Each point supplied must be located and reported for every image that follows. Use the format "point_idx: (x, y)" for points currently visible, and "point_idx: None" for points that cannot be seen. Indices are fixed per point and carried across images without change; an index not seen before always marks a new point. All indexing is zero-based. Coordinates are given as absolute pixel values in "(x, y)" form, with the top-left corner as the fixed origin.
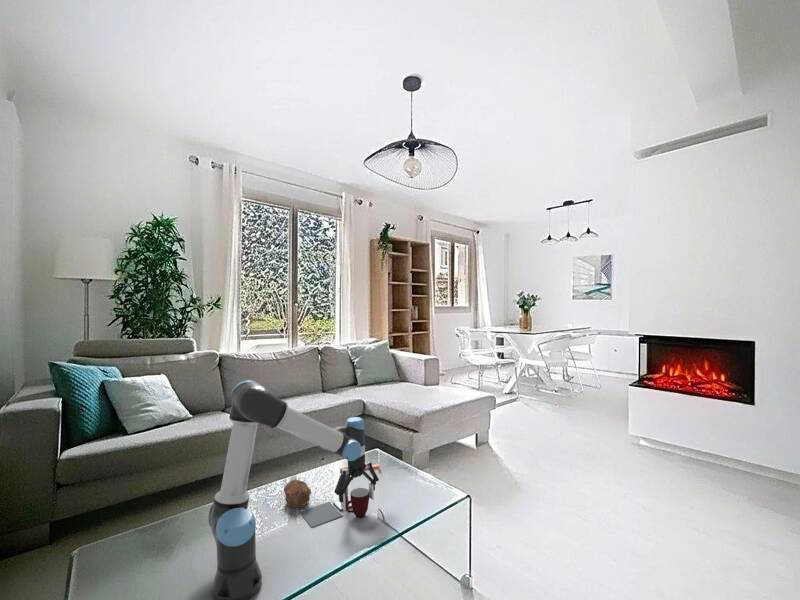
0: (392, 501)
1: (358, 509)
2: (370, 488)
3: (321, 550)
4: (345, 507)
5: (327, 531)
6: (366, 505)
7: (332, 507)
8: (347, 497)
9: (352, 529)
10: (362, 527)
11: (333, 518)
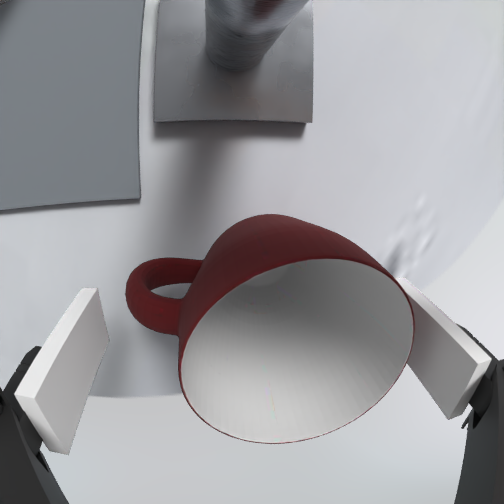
0: (477, 232)
1: (226, 345)
2: (435, 361)
3: (3, 384)
4: (103, 355)
5: (22, 293)
6: (298, 363)
7: (124, 45)
8: (258, 57)
9: (149, 354)
10: None
11: (71, 197)
